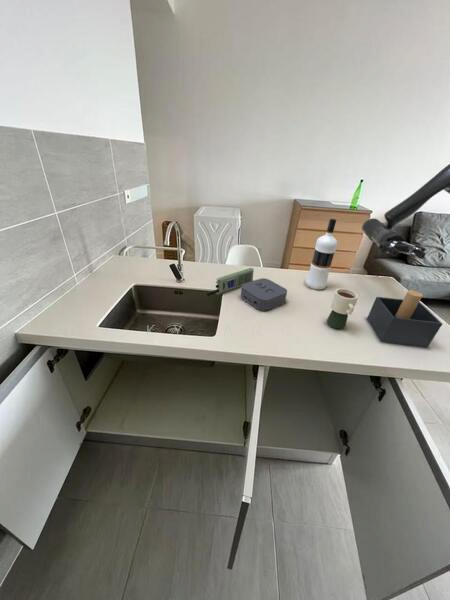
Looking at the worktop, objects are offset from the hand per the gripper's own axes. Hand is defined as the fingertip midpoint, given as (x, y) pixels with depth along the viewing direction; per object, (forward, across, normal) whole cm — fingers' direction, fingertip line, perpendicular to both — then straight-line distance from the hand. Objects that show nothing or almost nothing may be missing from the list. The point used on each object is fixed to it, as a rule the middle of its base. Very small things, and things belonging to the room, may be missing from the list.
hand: (409, 255), depth 83 cm
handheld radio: (-5, -61, +24) cm, 66 cm away
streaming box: (+1, -47, +24) cm, 53 cm away
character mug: (+13, -21, +24) cm, 34 cm away
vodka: (-17, -23, +24) cm, 37 cm away
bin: (+13, -1, +24) cm, 27 cm away
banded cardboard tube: (+13, -1, +23) cm, 26 cm away
